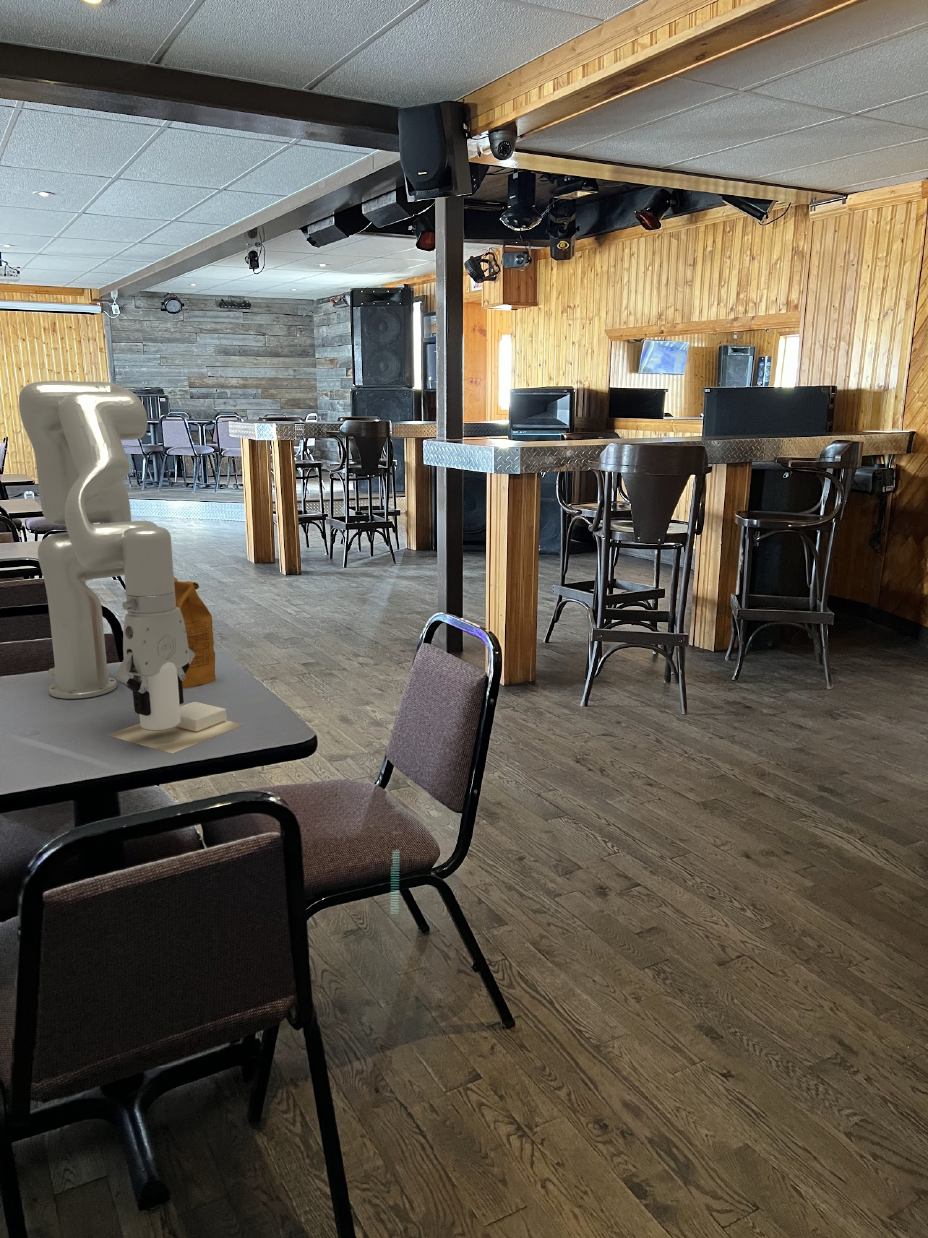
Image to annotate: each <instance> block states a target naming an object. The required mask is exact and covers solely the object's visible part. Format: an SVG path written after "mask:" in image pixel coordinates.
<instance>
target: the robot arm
mask: <svg viewBox="0 0 928 1238" xmlns="http://www.w3.org/2000/svg"><path fill="white" fill-rule="evenodd" d="M18 409H19V416H20V419H21V423H22V425H23V428H24V430H25V433H26V435H27V438H28V439H29V441H30V445H31V446H32V449H33V453H34V458H35V467H36V474H37V475H36V476H37V484H38V492H39V502H40V506H41V510H42V514H43V517H44V518H45V521H46V522H48V523H49V524H52V525H57V526H65V528H66V531H65V532H57V533H54V534H50V535H49V536H46V537H44V538H43V539H42V541H40V543H39V545H38V548H37V559H38V563H39V567H40V569H41V574H42V579H43V581H44V585H45V586H44V587H45V591H46V596H47V604H48V614H49V620H50V621H49V623H50V633H51V639H52V640H51V641H52V642H51V643H52V651H53V659H54V667H53V668H49V669H48V675H50V676H54V682H53V683H52V684H51V685H49V687H48V694H49V695H50V696H52V697H54V698H58V699H66V700H67V699H69V700H72V699H73V700H75V699H76V700H77V699H87V698H93V697H97V696H98V697H99V696H103V695H106V694H108V693H110V692H113V691H114V690H115V689H116V688H117V685H118V683H117V680H119V681H120V683H122V684H123V685H124V686H125V687H127V688H128V690H129V691H131V692H132V697H133V698H132V699H133V709H134V712H135V713H136V714H137V715H138V714H141V715H145V716H148V715H150V714H151V708H150V695H149V692H147V691H146V687H147V683H148V677H149V676H154V675H156V674H158V673H160V669H161V667H162V666H163V665H164V664H165V663H167V662H171V663H173V664H174V665H175V667H176V668H177V677H178V690H179V704H180V705H182V704H183V705H184V688H183V685H182V681H183V680H184V679H185V673H186V672H187V670H188V668H189V664H190V663H191V662H192V660H193V658H194V656H195V653H194V652H193V651H191V650H190V649H189V648H188V641H187V634H186V628H185V624H184V620H183V616H182V613H181V610H180V608H178V607H176V601H175V587H174V577H175V574H174V562H173V547H172V545H173V544H172V536H171V534H170V531H169V530H168V529H166V528H165V527H162V526H158V525H157V524H156V523H155V522H153V521H150V520H134V521H132V514H131V504H130V496H129V492H128V489H127V487H126V484H125V483H124V480H125V479H126V478H127V477H128V476H129V474H130V470H131V465H130V462H129V459H128V457H127V454H126V451H125V449H124V445H123V443H122V441H129V440H130V441H132V440H139V439H141V438H143V437H144V436H145V435H146V432H147V429H148V423H149V422H148V415H147V410H146V407H145V406H144V404H143V402H142V401H141V399H140V398H139V397H138V395H137V394H135V393H134V392H133V391H131V390H129V389H127V388H125V387H123V386H121V385H120V384H119V385H118V384H117V383H114V382H109V381H75V380H44V381H35V382H31V383H29V384H27V385H24V386H23V388H21V390H20V393H19V395H18ZM122 576H124V583H125V597H126V601H122V604H121V607H122V608H123V610H124V611H127V613H126V614H124V622H123V632H122V633H123V635H122V636H123V637H122V650H123V651H122V652H123V655H122V656H123V660H122V662H121V663H120V665H119V666H118V668H117V670H116V671H115V673H114V677H115V678H114V677H111V676H109V675H108V674H109V673H108V664H107V663H108V662H107V654H106V652H107V651H106V640H105V631H104V628H105V627H104V620H103V619H104V618H103V609H102V603H101V599H100V598H99V596H98V595H97V594H96V592H94V591H93V590H92V589H91V588H90V587H89V586H88V585H87V584H86V583H87V582H88V581H92V580H96V579H105V578H114V577H122ZM168 658H169V659H168ZM166 659H168V660H166ZM129 674H131V676H130V675H129ZM138 676H141V678H140V682H139V683H138Z"/></svg>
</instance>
